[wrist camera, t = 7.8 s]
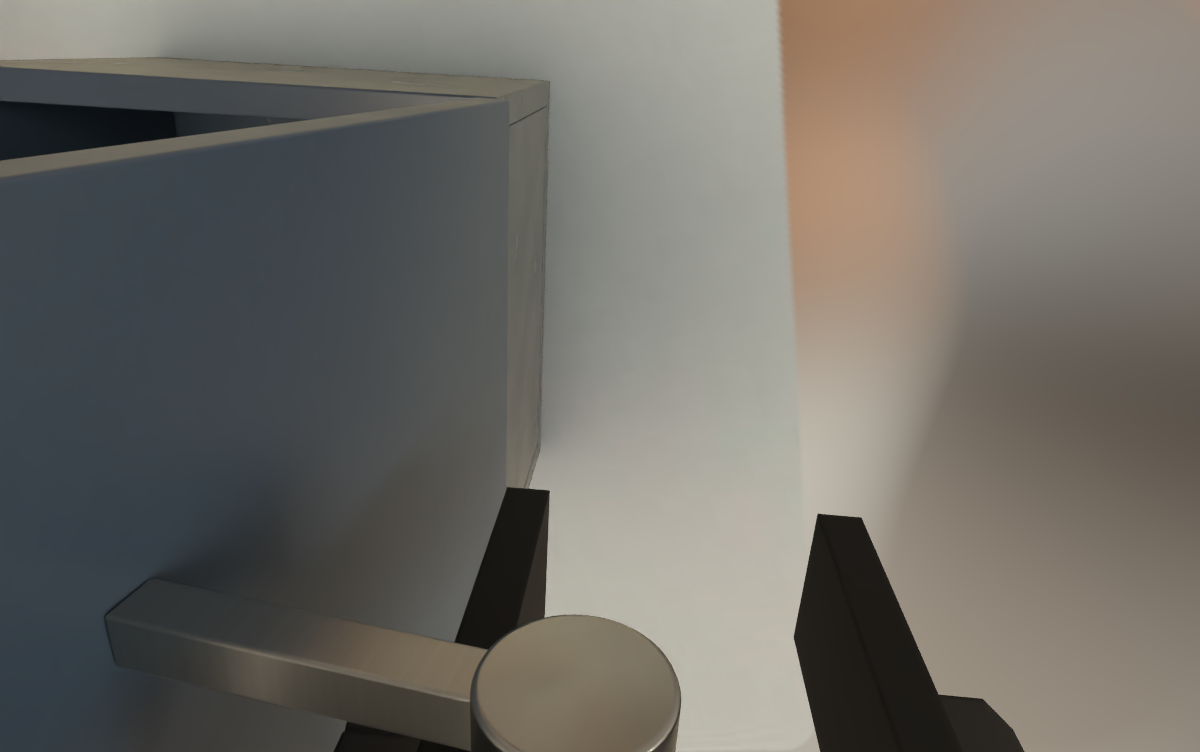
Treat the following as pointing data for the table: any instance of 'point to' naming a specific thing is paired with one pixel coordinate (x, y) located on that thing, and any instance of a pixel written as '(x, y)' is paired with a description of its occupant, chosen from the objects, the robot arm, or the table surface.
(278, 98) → the grey box
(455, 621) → the box lid
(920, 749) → the robot arm
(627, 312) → the table surface
